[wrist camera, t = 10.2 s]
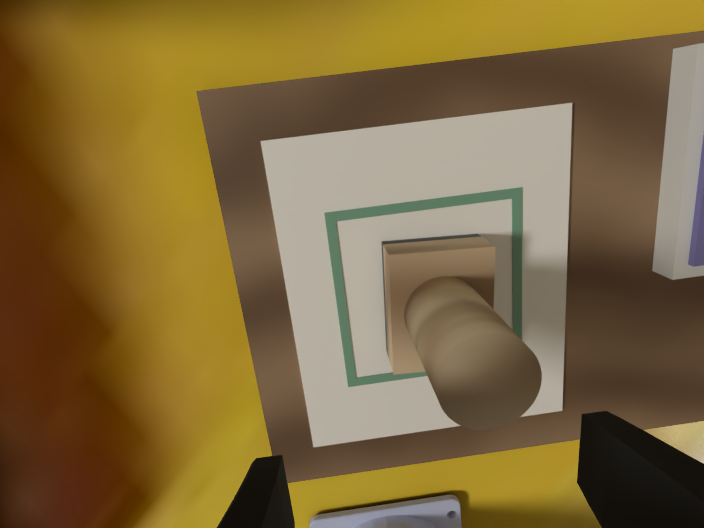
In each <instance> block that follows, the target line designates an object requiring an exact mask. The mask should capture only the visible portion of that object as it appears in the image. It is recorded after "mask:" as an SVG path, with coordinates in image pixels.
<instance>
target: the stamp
mask: <svg viewBox="0 0 704 528" xmlns="http://www.w3.org/2000/svg"><path fill="white" fill-rule="evenodd" d="M381 244H382V266H383V289H384V311H385V333H386V351H387V355H388V358H389V361H390V365H391V368H392V371H393V375H395V374H406V373H416V372H426V374H427V376H428V378H429V381H430V383H431V385H432V387H433V390H434V392H435V394H436V397H437V399H438V401H439V404H440V406H441V408H442V410H443V411H444V413H445V414H446V415H447V416H448V417H449V418H450V419H451V420H452V421H454V422H455V423H457V424H459V425H461V426H463V427H466V428H469V429H475V430H489V429H495V428H499V427H502V426H505V425H507V424H509V423H511V422H513V421H515V420H516V419H518V418H519V417H521V416H522V415H523V414H524V413H525V412H526V411H527V410H528V409H529V408H530V407H531V405H532V404H533V403H534V401H535V399H536V398H537V395H538V393H539V390H540V387H541V381H542V372H541V367H540V364H539V361H538V359H537V357H536V356H535V354H534V353H533V352H532V350H531V349H530V348H529V347H528V346H527V345H526V344H525V343H524V342H523V341H522V340H521V339H520V338H519V337H518V335H517V334H516V333H515V332H514V331H513V330H512V329H511V328H510V327H509V326H508V325H507V324H506V323H505V321H504V320H503V319H502V318H501V317H500V316H499V315H498V314H497V313H496V312H495V311H494V310H493V308H494V280H495V252H496V246H494V245H493V244H492V243H490V242H489V241H487V240H486V239H484V238H483V237H482V236H480V235H479V234H466V235H454V236H441V237H429V238H416V239H404V240H392V241H381Z"/></svg>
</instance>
